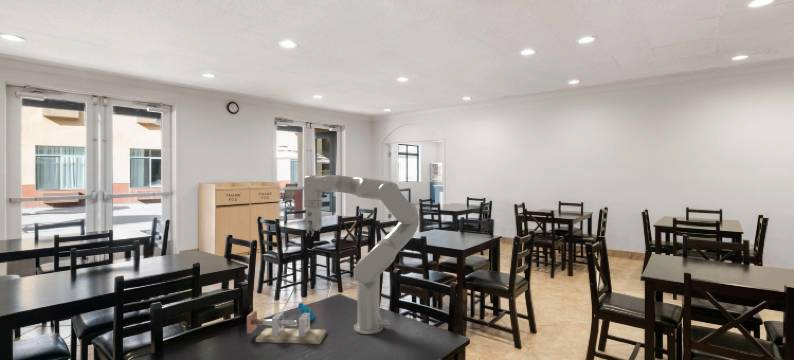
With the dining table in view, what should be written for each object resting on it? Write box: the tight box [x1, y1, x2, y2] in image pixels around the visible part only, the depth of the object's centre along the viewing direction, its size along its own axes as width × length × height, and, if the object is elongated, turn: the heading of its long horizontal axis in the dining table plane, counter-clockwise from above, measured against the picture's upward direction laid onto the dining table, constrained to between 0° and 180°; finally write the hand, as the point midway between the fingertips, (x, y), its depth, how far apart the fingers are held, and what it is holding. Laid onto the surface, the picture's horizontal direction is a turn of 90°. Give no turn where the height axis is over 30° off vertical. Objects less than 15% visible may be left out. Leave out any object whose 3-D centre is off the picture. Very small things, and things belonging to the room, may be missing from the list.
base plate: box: [255, 327, 327, 345], centre depth 160 cm, size 26×10×2 cm, turn 86°
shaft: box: [246, 310, 298, 334], centre depth 160 cm, size 20×6×7 cm, turn 86°
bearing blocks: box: [271, 311, 311, 338], centre depth 160 cm, size 14×7×8 cm, turn 86°
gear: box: [297, 302, 316, 321], centre depth 180 cm, size 11×6×10 cm
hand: (313, 243), depth 169 cm, fingers open, 9 cm apart
